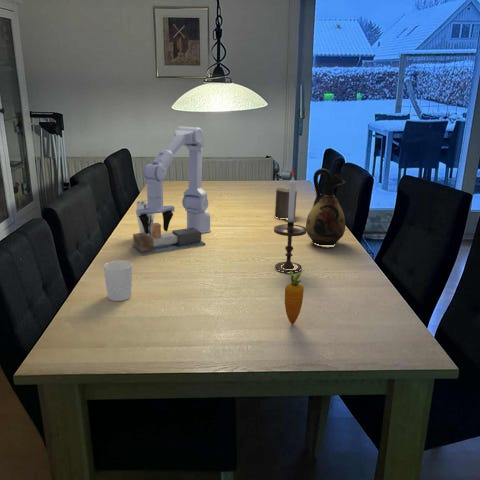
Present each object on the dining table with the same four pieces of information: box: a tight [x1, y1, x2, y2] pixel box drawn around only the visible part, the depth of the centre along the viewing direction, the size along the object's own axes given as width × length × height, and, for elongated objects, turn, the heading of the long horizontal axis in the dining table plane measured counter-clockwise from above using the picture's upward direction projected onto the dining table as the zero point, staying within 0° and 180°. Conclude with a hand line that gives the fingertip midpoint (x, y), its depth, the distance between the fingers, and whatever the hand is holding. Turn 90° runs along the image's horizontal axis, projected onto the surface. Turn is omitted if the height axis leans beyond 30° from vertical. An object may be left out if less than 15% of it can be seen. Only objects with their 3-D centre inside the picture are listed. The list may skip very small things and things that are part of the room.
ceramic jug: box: [305, 167, 346, 245], centre depth 196 cm, size 17×15×30 cm
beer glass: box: [136, 200, 155, 236], centre depth 200 cm, size 7×7×15 cm
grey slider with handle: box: [150, 222, 179, 246], centre depth 191 cm, size 16×4×8 cm, turn 121°
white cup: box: [103, 259, 133, 302], centre depth 146 cm, size 8×8×10 cm
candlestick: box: [273, 168, 307, 272], centre depth 168 cm, size 11×11×35 cm
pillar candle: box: [274, 186, 298, 218], centre depth 236 cm, size 10×10×15 cm
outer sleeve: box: [131, 227, 206, 256], centre depth 193 cm, size 26×11×5 cm, turn 121°
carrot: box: [284, 271, 305, 325], centre depth 131 cm, size 5×5×15 cm
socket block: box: [132, 233, 154, 252], centre depth 188 cm, size 4×9×5 cm, turn 31°
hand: (156, 231), depth 190 cm, fingers open, 7 cm apart
